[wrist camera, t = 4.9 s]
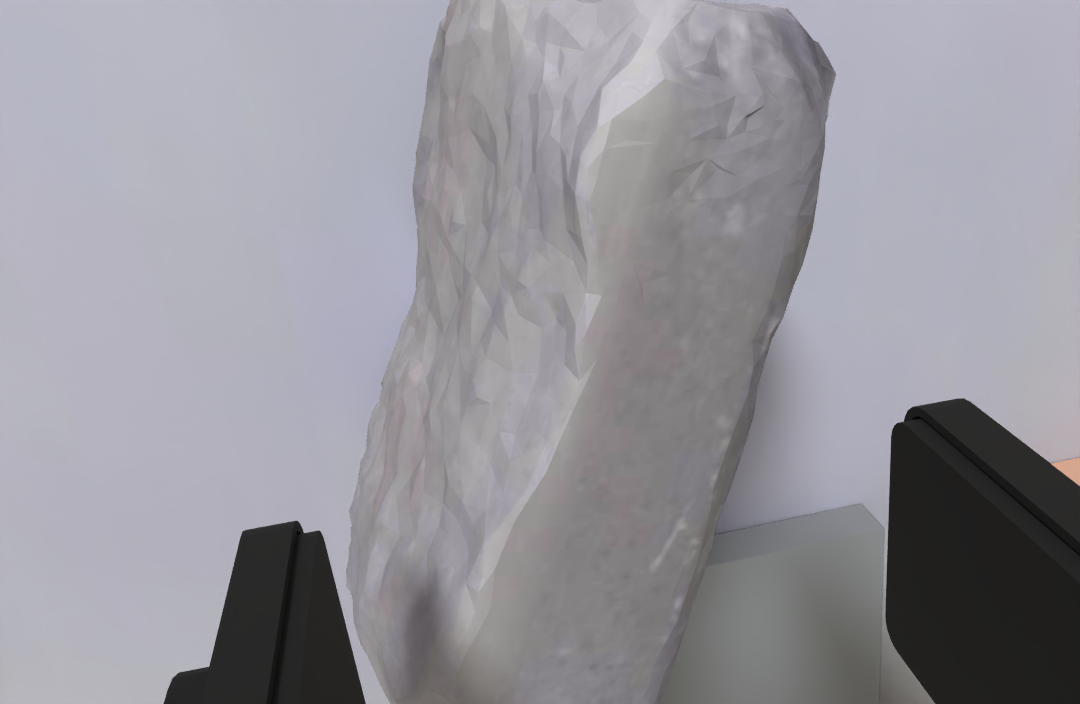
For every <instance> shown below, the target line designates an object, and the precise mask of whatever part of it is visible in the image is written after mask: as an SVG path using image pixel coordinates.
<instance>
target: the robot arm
mask: <svg viewBox="0 0 1080 704" xmlns="http://www.w3.org/2000/svg"><path fill="white" fill-rule="evenodd" d="M886 624H887V629H888V633H889V636H890V639H891V641H892V643H893V645H894V647H895V649H896V650H897V652H898V653H899V655H900V656H901V657H902V659H903V660H904V662H905V663H906V664H907V666H908V667H909V668H910V670H911V671H912V672H913V674H914V675H915V677H916V678H917V679H918V681H919V682H920V683H921V685H922V686H923V687H924V689H925V690H926V691H927V693H928V694H929V696H930V697H931V698H932V700H933V701H934V702H935V704H1080V486H1079V485H1078V484H1077V483H1075V482H1074V481H1073V480H1071V479H1070V478H1069V477H1067V476H1066V475H1065V474H1063V473H1062V472H1061V471H1060V470H1058V469H1057V468H1056V467H1054V466H1053V465H1052V464H1050V463H1049V462H1048V461H1047V460H1045V459H1044V458H1043V457H1041V456H1040V455H1039V454H1037V453H1036V452H1035V451H1034V450H1032V449H1031V448H1030V447H1028V446H1027V445H1026V444H1024V443H1023V442H1022V441H1021V440H1019V439H1018V438H1017V437H1015V436H1014V435H1013V434H1011V433H1010V432H1009V431H1008V430H1006V429H1005V428H1004V427H1002V426H1001V425H1000V424H998V423H997V422H996V421H994V420H993V419H992V418H991V417H989V416H988V415H987V414H985V413H984V412H983V411H981V410H980V409H979V408H978V407H976V406H975V405H974V404H972V403H971V402H969V401H967V400H966V399H964V398H963V399H953V400H948V401H942V402H937V403H932V404H926V405H921V406H915V407H912V408H911V409H909V410H908V411H907V414H906V416H905V419H904V422H900V423H897V424H896V425H895V426H894V428H893V430H892V436H891V462H890V493H889V524H888V555H887V586H886ZM164 704H366V703H365V699H364V695H363V691H362V687H361V684H360V680H359V676H358V672H357V668H356V664H355V660H354V656H353V652H352V648H351V644H350V640H349V636H348V632H347V628H346V624H345V620H344V616H343V613H342V609H341V605H340V601H339V597H338V593H337V589H336V585H335V581H334V577H333V573H332V569H331V565H330V561H329V557H328V553H327V549H326V545H325V542H324V538H323V536H322V533H321V532H320V531H314V532H309V533H304V532H303V529H302V527H301V525H300V523H299V522H298V521H292V522H287V523H282V524H276V525H271V526H265V527H260V528H255V529H249V530H245V531H243V532H242V535H241V538H240V542H239V546H238V550H237V554H236V558H235V562H234V567H233V571H232V575H231V579H230V583H229V587H228V592H227V596H226V600H225V604H224V608H223V612H222V617H221V621H220V625H219V629H218V633H217V637H216V641H215V646H214V650H213V654H212V658H211V662H210V666H209V667H206V668H201V669H195V670H190V671H185V672H180V673H178V674H177V675H176V676H175V677H174V678H173V679H172V681H171V684H170V686H169V688H168V691H167V694H166V698H165V701H164Z"/></svg>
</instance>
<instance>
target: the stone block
mask: <svg viewBox="0 0 1080 704" xmlns="http://www.w3.org/2000/svg"><path fill="white" fill-rule="evenodd" d="M835 76H836V73H835V71H834V69H833V67H832V65H831V63H830V61H829V60H828V58H827V56H826V54H825V53H824V51H823V49H822V48H821V46H820V44H819V43H818V42H816V41H814V40H813V39H812V38H811V37H810V36H809V34H808V33H807V32H806V30H805V29H804V28H803V27H802V25H801V24H800V23H799V22H798V20H797V19H796V18H795V17H794V16H793V15H792V13H791V12H790V11H789V10H788V9H785V8H779V7H772V6H766V5H759V4H745V5H739V4H731V3H718V4H717V3H713V2H709V1H705V0H450V3H449V6H448V9H447V14H446V17H445V18H444V19H443V20H442V21H441V22H440V24H439V28H438V32H437V36H436V40H435V44H434V47H433V51H432V54H431V58H430V62H429V71H428V80H427V91H426V102H425V108H424V113H423V119H422V124H421V130H420V135H419V141H418V146H417V151H416V166H415V173H414V181H413V197H414V205H415V213H416V220H417V225H418V228H417V235H418V257H417V267H416V293H415V297H414V300H413V303H412V305H411V308H410V310H409V312H408V314H407V316H406V318H405V320H404V322H403V324H402V326H401V330H400V334H399V338H398V341H397V343H396V346H395V349H394V351H393V354H392V356H391V359H390V361H389V364H388V367H387V369H386V372H385V375H384V378H383V381H382V383H381V384H382V391H381V396H380V401H379V402H378V404H377V405H376V407H375V408H374V410H373V412H372V415H371V418H370V422H369V425H368V434H367V448H366V452H365V454H364V456H363V458H362V460H361V464H360V471H359V478H358V484H357V488H356V491H355V495H354V499H353V502H352V505H351V507H350V509H349V513H350V518H351V524H352V526H351V543H350V546H349V560H348V565H347V569H346V586H347V588H348V589H349V590H350V591H351V595H352V599H353V614H354V624H355V627H356V631H357V634H358V638H359V641H360V643H361V646H362V647H363V649H364V651H365V653H366V654H367V656H368V658H369V660H370V662H371V665H372V667H373V669H374V671H375V674H376V676H377V678H378V681H379V683H380V685H381V687H382V689H383V691H384V693H385V694H386V696H387V698H388V700H389V702H390V704H661V701H662V699H663V696H664V693H665V691H666V687H667V684H668V681H669V678H670V674H671V671H672V668H673V664H674V662H675V659H676V656H677V653H678V650H679V647H680V644H681V641H682V638H683V635H684V632H685V629H686V626H687V623H688V620H689V617H690V614H691V611H692V608H693V605H694V602H695V599H696V595H697V592H698V589H699V586H700V583H701V580H702V577H703V574H704V571H705V568H706V565H707V562H708V559H709V556H710V553H711V549H712V545H713V540H714V536H715V531H716V527H717V522H718V518H719V515H720V512H721V510H722V507H723V505H724V502H725V500H726V497H727V495H728V492H729V489H730V486H731V483H732V480H733V477H734V474H735V471H736V469H737V466H738V463H739V460H740V457H741V454H742V451H743V447H744V444H745V441H746V438H747V435H748V431H749V428H750V425H751V422H752V418H753V414H754V406H755V399H756V391H757V385H758V381H759V378H760V375H761V372H762V368H763V365H764V362H765V359H766V355H767V352H768V349H769V346H770V342H771V339H772V337H773V336H774V334H775V332H776V330H777V328H778V326H779V324H780V322H781V320H782V318H783V316H784V313H785V310H786V307H787V304H788V301H789V298H790V295H791V292H792V289H793V286H794V284H795V281H796V279H797V276H798V274H799V272H800V269H801V267H802V265H803V261H804V258H805V254H806V250H807V247H808V243H809V240H810V236H811V232H812V229H813V222H814V216H815V209H816V203H817V196H818V189H819V180H820V172H821V166H822V160H823V154H824V149H825V123H826V120H827V117H828V105H829V99H830V95H831V91H832V87H833V84H834V80H835Z"/></svg>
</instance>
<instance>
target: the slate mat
mask: <svg viewBox="0 0 1080 704" xmlns="http://www.w3.org/2000/svg"><path fill="white" fill-rule="evenodd" d="M884 539H885V528H884V527H883V526H882V525H881V524H880V523H879V522H878V520H877V519H876V518H875V517H874V516H873V515H872V514H871V513H870V512H869V511H868V510H867V508H866V507H865V506H864V505H863V504H858V505H853V506H848V507H843V508H839V509H834V510H829V511H825V512H820V513H815V514H810V515H806V516H801V517H796V518H791V519H787V520H782V521H777V522H772V523H768V524H763V525H758V526H753V527H749V528H744V529H739V530H734V531H730V532H725V533H720V534H716V535H715V536H714V540H713V545H712V549H711V553H710V556H709V559H708V562H707V565H706V568H705V571H704V574H703V577H702V580H701V583H700V586H699V589H698V592H697V595H696V599H695V602H694V605H693V608H692V611H691V614H690V617H689V620H688V623H687V626H686V629H685V632H684V635H683V638H682V641H681V644H680V647H679V650H678V653H677V656H676V659H675V662H674V664H673V668H672V671H671V674H670V678H669V681H668V684H667V687H666V691H665V693H664V696H663V699H662V701H661V704H879V687H880V657H881V628H882V598H883V569H884Z"/></svg>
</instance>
